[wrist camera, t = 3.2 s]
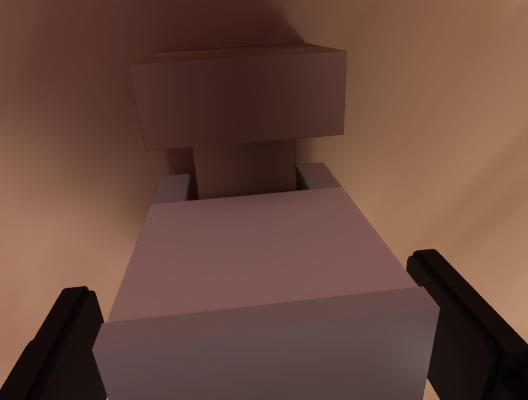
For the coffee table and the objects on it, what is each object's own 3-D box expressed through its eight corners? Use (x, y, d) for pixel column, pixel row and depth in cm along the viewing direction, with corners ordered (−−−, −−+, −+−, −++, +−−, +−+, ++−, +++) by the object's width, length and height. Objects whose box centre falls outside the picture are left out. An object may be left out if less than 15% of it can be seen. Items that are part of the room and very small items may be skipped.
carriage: (324, 161, 14) (439, 307, 7) (322, 294, 16) (403, 504, 9) (159, 175, 13) (92, 349, 6) (184, 310, 16) (156, 544, 9)
